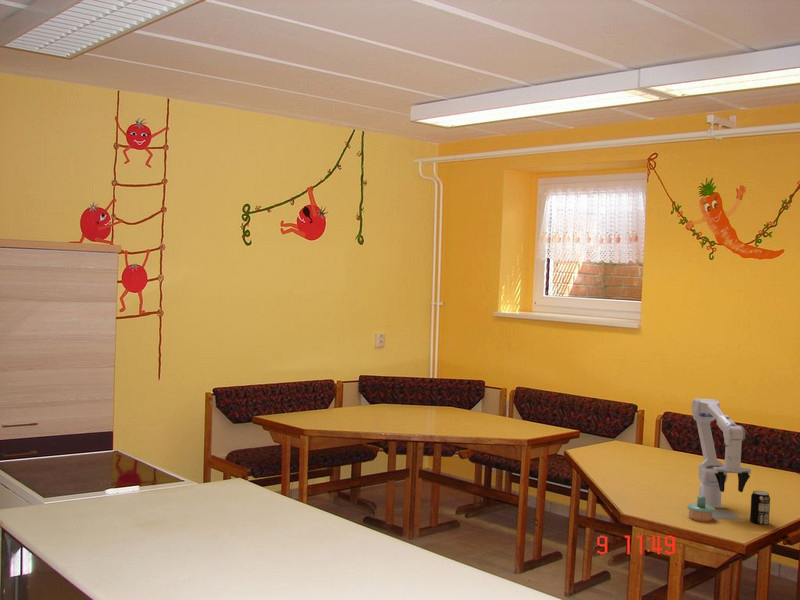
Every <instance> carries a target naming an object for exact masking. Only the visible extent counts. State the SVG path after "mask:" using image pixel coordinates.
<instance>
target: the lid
mask: <svg viewBox="0 0 800 600" xmlns="http://www.w3.org/2000/svg"><path fill="white" fill-rule="evenodd" d="M696 498H697V500H696V503H693V502H692V503H688V504H686V508H687V509H688V510H689V509H690V510H692V511H696V512H702V513H712V512H715V509H716V507H712V506H709V505H705V502H706V497H705V496H699V495H697V497H696Z"/></svg>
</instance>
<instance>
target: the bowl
mask: <svg viewBox="0 0 800 600" xmlns="http://www.w3.org/2000/svg"><path fill="white" fill-rule="evenodd" d="M688 517H689V518H690V519H692V520H695V521H700V522H710V521H712V520H713V519H712V513H702V512H696V511H692V510H690V509H688Z"/></svg>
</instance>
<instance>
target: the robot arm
mask: <svg viewBox="0 0 800 600" xmlns="http://www.w3.org/2000/svg"><path fill="white" fill-rule="evenodd" d="M691 413H692V417H693V420H694V421H696V426H697V431H698V436H699V441H700V446H701V450H702V451H701V452H702V457H703V461H702V462H701V463H700V464H699V466H698V479H699V481H700V482H701V483H700V484H699V487H698V496H705V497H706V502H705V505H709V506H712V507H714V508H725V505H723V504H722V494H723V493H724V492H725V486H726V485H725V483H726V482H727V481H728V474H737V479H738V485H737V490H738V492H740V493H743V491H744V489H745V486H746V483H747V482H748V480H749V479H750V477H751V475H752V468H750V467H741V464H742V463H741V462H742V461H741V460H742V459H741V458H742V442H743V441H744V440H745V439H746V430H745V428H744V427H743V425H738V424H736V422H734V420H733V419H732V418H731V417H730V415H726V414H724V413H723V411H722V410H721V405H720V401H719V400H718V399H717V398H696V397H695V398H693V400H692V402H691ZM715 420H716V425H717V426H718V428H719V430H721V431H722V433H723V434H722V435H723V441H724V445H725V450H724V451H725V452H724V463H723V462H722V461H720V460H718V457H717V452H716V447H715V443H714V442H715V441H714V438H713V434H712V427H711V422H713V421H715Z"/></svg>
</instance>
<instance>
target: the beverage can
mask: <svg viewBox="0 0 800 600" xmlns="http://www.w3.org/2000/svg"><path fill="white" fill-rule="evenodd" d="M770 504H771V496H770V493H769V492H768V491H763V490H753V491H752V493H751V495H750V514H749V515H750V516H749V522H750V523H752V524H755V525H760V526H766V525H769V523H770V512H771V511H770V509H771V505H770Z"/></svg>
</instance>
